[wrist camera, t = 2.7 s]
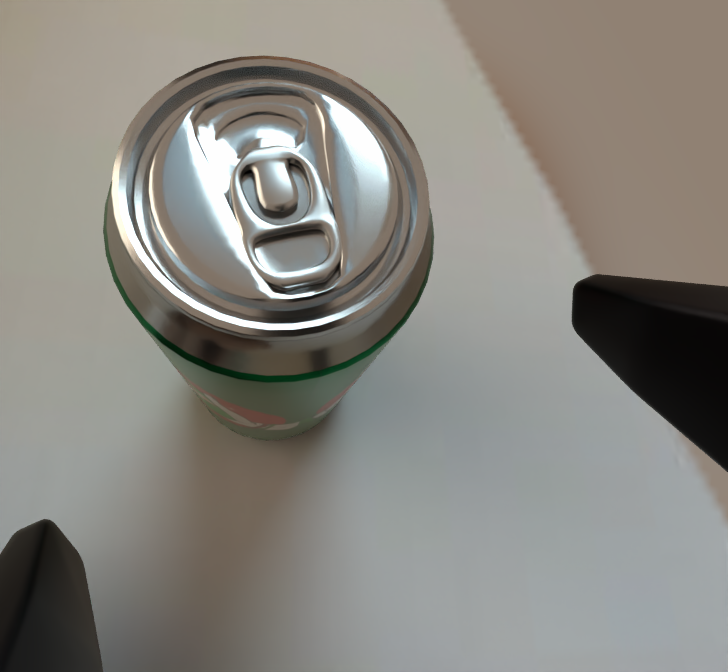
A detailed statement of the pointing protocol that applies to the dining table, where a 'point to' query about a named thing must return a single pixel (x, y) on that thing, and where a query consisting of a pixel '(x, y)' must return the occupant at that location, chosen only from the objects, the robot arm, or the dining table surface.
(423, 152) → the dining table surface
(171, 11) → the dining table surface
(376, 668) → the dining table surface
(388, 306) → the soda can
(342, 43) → the dining table surface
